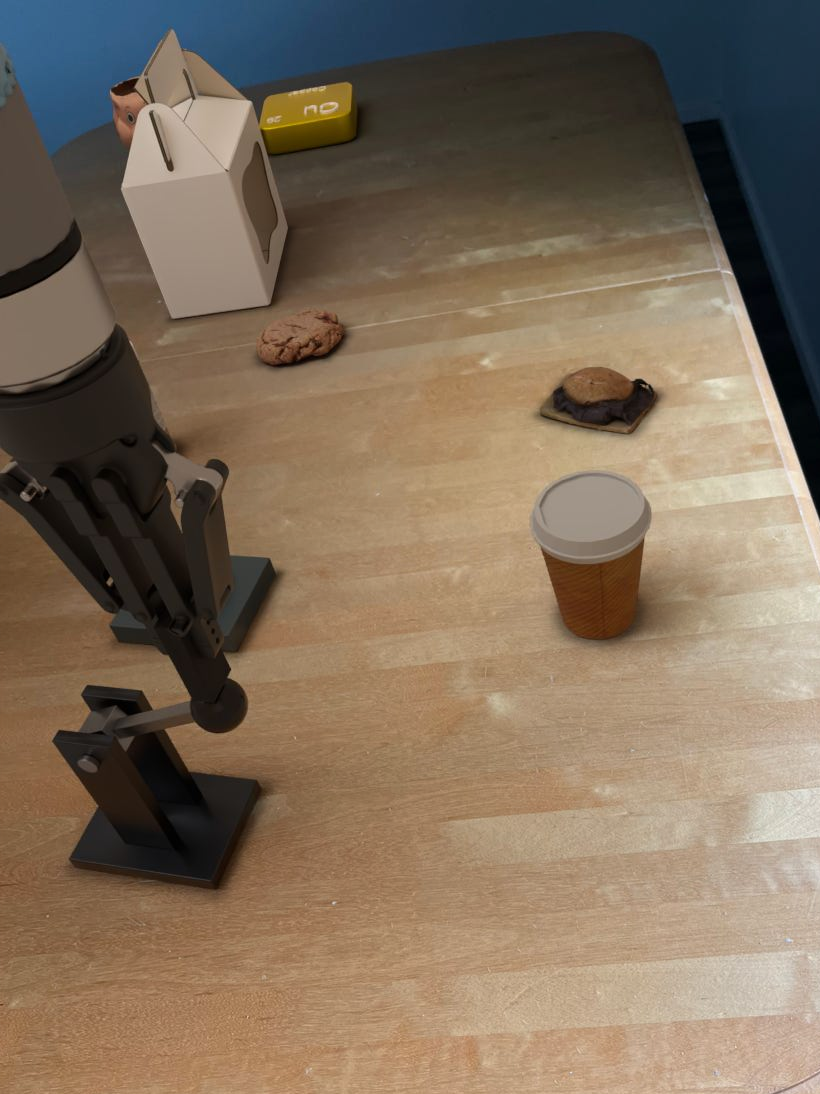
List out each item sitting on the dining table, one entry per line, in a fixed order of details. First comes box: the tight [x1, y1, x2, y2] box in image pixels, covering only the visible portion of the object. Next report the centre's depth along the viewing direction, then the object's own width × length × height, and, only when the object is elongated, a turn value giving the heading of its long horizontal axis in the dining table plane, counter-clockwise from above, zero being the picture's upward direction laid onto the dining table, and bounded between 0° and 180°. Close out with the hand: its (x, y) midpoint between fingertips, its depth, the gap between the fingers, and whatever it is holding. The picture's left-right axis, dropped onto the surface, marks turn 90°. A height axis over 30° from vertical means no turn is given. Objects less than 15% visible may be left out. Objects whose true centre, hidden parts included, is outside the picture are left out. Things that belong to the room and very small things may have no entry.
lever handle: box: [78, 677, 249, 752], centre depth 70 cm, size 14×4×4 cm, turn 76°
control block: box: [108, 554, 277, 653], centre depth 97 cm, size 12×10×4 cm
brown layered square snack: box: [538, 366, 658, 435], centre depth 109 cm, size 11×8×4 cm
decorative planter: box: [109, 75, 147, 151], centre depth 167 cm, size 20×12×14 cm, turn 12°
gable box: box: [120, 28, 289, 320], centre depth 134 cm, size 22×13×28 cm, turn 1°
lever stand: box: [51, 684, 262, 890], centre depth 76 cm, size 12×9×14 cm
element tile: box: [258, 81, 358, 156], centre depth 173 cm, size 15×15×5 cm
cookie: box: [256, 308, 344, 366], centre depth 127 cm, size 10×11×3 cm
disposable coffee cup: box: [529, 469, 653, 640], centre depth 86 cm, size 10×10×12 cm
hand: (212, 684), depth 65 cm, fingers closed
